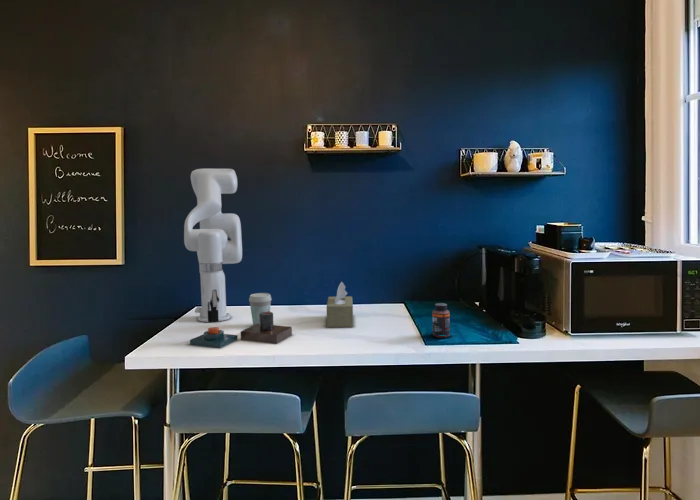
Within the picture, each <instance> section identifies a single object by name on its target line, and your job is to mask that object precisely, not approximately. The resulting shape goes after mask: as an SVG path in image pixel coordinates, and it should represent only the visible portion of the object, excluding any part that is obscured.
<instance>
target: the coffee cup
mask: <svg viewBox="0 0 700 500" xmlns="http://www.w3.org/2000/svg"><path fill="white" fill-rule="evenodd" d="M272 300H273V298H272V296H271V294H270V293H268V292H257V293H251V294H250V295H249V298H248V302H249V306H250V313H251V319H252V326H254V325H256V324H259V313H262V312H268V311H270V312H271V305H272V304H271V303H272Z"/></svg>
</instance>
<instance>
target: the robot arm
mask: <svg viewBox="0 0 700 500" xmlns="http://www.w3.org/2000/svg"><path fill="white" fill-rule="evenodd" d="M190 182H191V187H192V190H193V193H194V194H195V196H196V206H195V207H194V208H193V209H191V211H190V212H189V213H188V215H187V216H186V218H185V220H184V224H183V229H184V230H183V243H184V246H185V248H186V249H187V250H188V251H190V252H196V255H197V261H198V269H199V277H200V278H199V279H200V294H201V295H200V298H201V300H200V301H201V306H196V308H195V309H194V313H195V314H199V315H198V317H197V320H198V321H200V322H204V323H208V324H209V323H210V324H212V323H219V322H224V321H227V320H229V319H230V318H231V313H228V312H227V293H226V274H225V272H224V265H231V264H233V265H235V264H238V263H240V262H242V259H243V240H242V223H241V218H240V217H239V215H237V214H236V213H231V212H230V213H228V212H227V213H223V212H222V205H223V204H222V195H223V194H224V195H225V194H226V195H227V194H228V195H229V194H231V195H232V194H235V193H236V192H237V190H238V176H237V174H236V171H235V170H234V169H233V168H208V167H207V168H196V169H194V170H192V171H191V173H190ZM198 223H199V228H194V227H195V225H197V224H198Z"/></svg>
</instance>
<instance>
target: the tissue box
mask: <svg viewBox="0 0 700 500" xmlns="http://www.w3.org/2000/svg"><path fill="white" fill-rule="evenodd" d="M346 288H347V287H346V285H345V284H344V282H343V281H340V283H339V285H338V287H337V290H336V295H335V296H328V297H327V302H326V328H353V327H354V304H353V296H351V295H349V296H347V295H348V292H347V290H346Z"/></svg>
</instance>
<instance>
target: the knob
mask: <svg viewBox="0 0 700 500" xmlns="http://www.w3.org/2000/svg"><path fill="white" fill-rule="evenodd" d="M259 325H260V330H262V331H268V330H272V329H274V326H273V325H274V312H272V311H271V310H270V311H268V312H262V313H259Z"/></svg>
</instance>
